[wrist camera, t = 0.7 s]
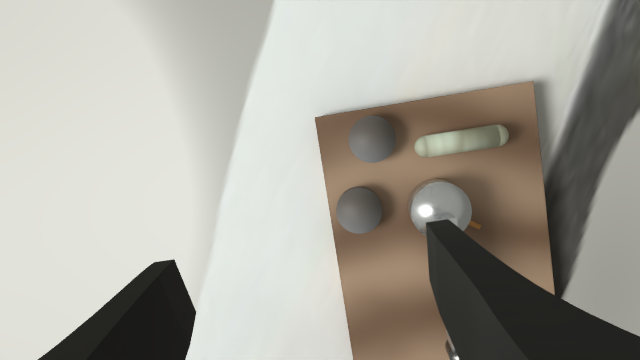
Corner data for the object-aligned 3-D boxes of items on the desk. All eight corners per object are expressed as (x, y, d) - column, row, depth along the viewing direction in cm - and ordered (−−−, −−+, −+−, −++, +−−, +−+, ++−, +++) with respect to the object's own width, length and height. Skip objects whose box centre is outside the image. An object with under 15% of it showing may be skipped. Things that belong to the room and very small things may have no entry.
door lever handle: (480, 342, 28) (497, 371, 24) (426, 347, 28) (436, 377, 25) (459, 174, 26) (474, 181, 23) (404, 183, 27) (411, 190, 23)
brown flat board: (551, 340, 29) (571, 360, 26) (355, 359, 30) (354, 381, 28) (525, 83, 27) (543, 78, 24) (316, 118, 28) (312, 116, 26)
